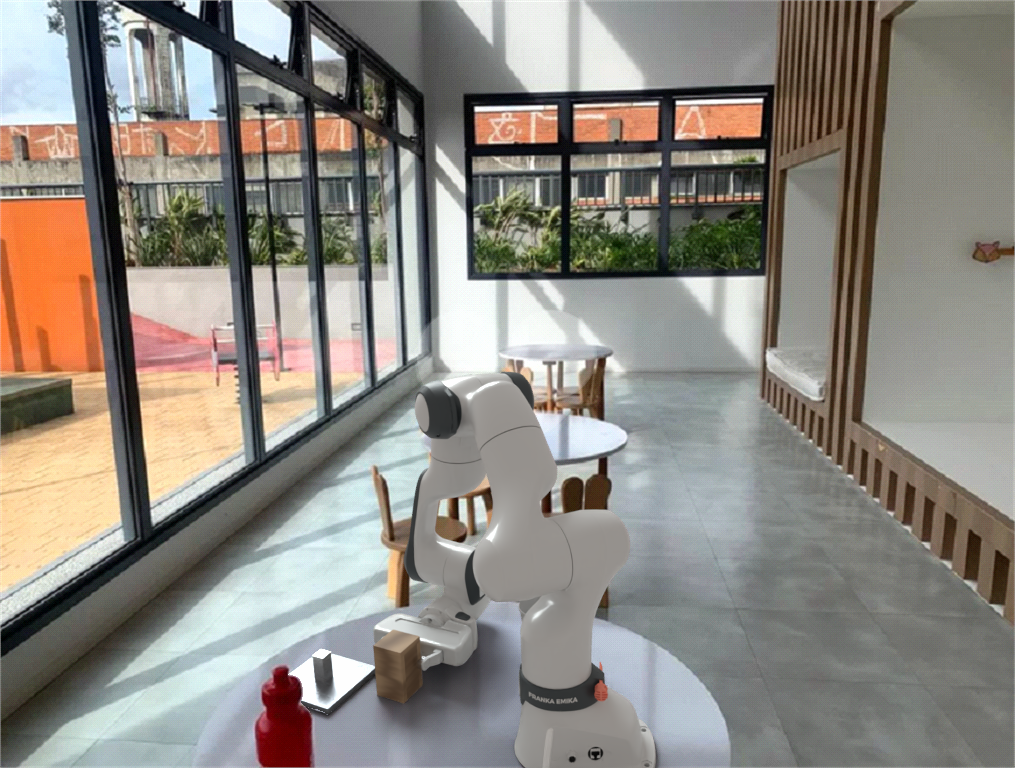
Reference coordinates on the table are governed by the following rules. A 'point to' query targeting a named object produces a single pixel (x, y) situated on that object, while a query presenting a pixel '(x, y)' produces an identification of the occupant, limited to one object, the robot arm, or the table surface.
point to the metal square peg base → (330, 679)
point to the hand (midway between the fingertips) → (399, 660)
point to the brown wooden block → (397, 666)
